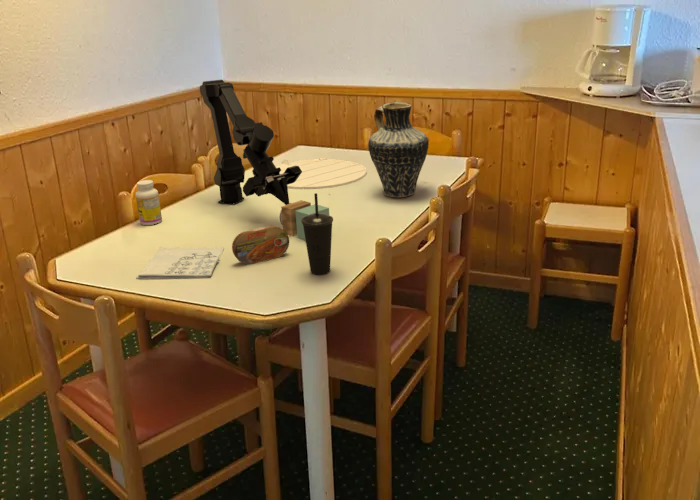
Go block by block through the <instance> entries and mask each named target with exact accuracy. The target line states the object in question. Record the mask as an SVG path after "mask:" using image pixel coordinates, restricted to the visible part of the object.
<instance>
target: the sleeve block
mask: <svg viewBox="0 0 700 500" xmlns="http://www.w3.org/2000/svg"><path fill="white" fill-rule="evenodd" d="M290 203H291V204H288V205H285V204H284V205H282V206H281V207H280V208H281V210H282V221H283V226H282V229H283V230H284V231H285V232H286V233H287V234H288V236H292V237H294V236H297V226H296V219H295V214H296V212H295V211H296V210H299V209H302V208H305V207H308V206H311V202H310V201H306V200H297V201H295V202H290Z"/></svg>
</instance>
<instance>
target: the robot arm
mask: <svg viewBox="0 0 700 500" xmlns="http://www.w3.org/2000/svg"><path fill="white" fill-rule="evenodd" d="M232 83H233V82H232ZM232 83H231V82H230V81H229V82H225V81H224V80H223V79H216V80H215V79H214V80H205V81H204V80H203V81H202V83H201V85H200V86H199V94H200V95H201V97H202V100H203V101H202V102H203V103H204V104H205V105H206V106H207V107H208V109H209V110H210V113H211V119H212V123H213V128H214V132H215V133H214V134H215V138H216V142H217V149H218V152H219V156H218V159H217V161H216V171H215V173H214V175H213V181H214V184H215V185H216V186H218V187H219V194H220V195H219V196H220V200H218V201H217V202H218V204H224V205H225V204H227V205H236V204H239V203H240V202H242V201H243V200H245V197H249V196H253V195H255V196H257V197H261V196H263V195H272V196H274V197H275V198H276V199H278V200H279V201H280V202H282V203H283V204H284V206H285V205H286V204H288V203H290V197H289V196H290V195H289V188H287V185H288V184H292V183H294V182H295V181H296V180H297V178H298V177H299V176H300V174H301V173H302V170H301V169H300V167H299V166H292V167H288V168H287V169H286V170H285V172H284V173H283V174H280V171H281V169H280V168H276V167H275V166H276V165H275V164H274V160H275V158H274V157H273V156H269V154H268V153H267V151H268V150H269V148H270V146H271V143H272V141H273V139H274V136H275V135H274V134H275V133H274V131H273V129H271V127H269V126H267V125H264V124H263V122H262V121H260V122H255V120H254V119H252V118H251V117H249V116H248V115H247V114H246V112H245V110H244V108H243V106H242V105H241V102H240V100H239V98H238V97H237V95H236V92H235V88H234V85H233V84H232ZM228 119H229V120H230V122H231V125H232V131H231V129H230V124H229V120H228ZM231 132H232V134H231ZM232 137H233V139H232ZM233 140H234V142H235V144H236V145H238V146H245V147H244V149H243V150H242V151H243V153H242V157H241V156H238V155H237V153H236V152H235V150H234V145H233ZM242 158H243V159H242ZM244 159H247V160H248V162H249V164H250V165H251V167H252V168H253V169H252V171H251V172H252V174H253V176H252V177H248V178H247V180H246V182H245V173H246V169H245V167H244V165H243V161H242V160H244ZM241 183H245V184H243V186H242V187H241ZM243 194H244V195H245V197H243Z"/></svg>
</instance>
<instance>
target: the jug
mask: <svg viewBox="0 0 700 500" xmlns="http://www.w3.org/2000/svg"><path fill="white" fill-rule="evenodd" d="M411 110H412V105H411V103H410V102H401V101H395V102H388V103H384V104H383V105H381V106H379V107H377V108H376V109H375V111H374V115H373V117H374V122H375V126H376V130H377V131H376V132H374V133H373V134H372V135H371V136H370V137H369V140H368V143H367V144H368V145H367V146H368V147H367V149H368V152H369V156H370V158H371V161H372V163H373V165H374V167H375V169H376V172H377V175H378V178H379V180H380V182H381V185H382V190H383V194H384V195H385V196H387V197H391V198H406V197H408V196H412V195H414V194H415V192H416V188H417V183H418V179H419V176H420V173H421V170H422V168H423V166H424V163H425V161H426V157H427V155H428V151H429V138H428V136H427V135H426V133H425V132H423V131H421V130H419V129H418V128H415V127H414V126H412V124H411V121H410V115H411ZM384 118H385V119H384ZM384 120H385V121H384Z"/></svg>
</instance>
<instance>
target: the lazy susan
mask: <svg viewBox="0 0 700 500" xmlns="http://www.w3.org/2000/svg"><path fill="white" fill-rule="evenodd" d="M292 166H299V167H300V169H301V170H302V173H301V174H300V176H299V177H298V178H297V180H296V181H295V182H294V183H292V184H288V185H287V188H288V189H293V190H322V189H331V188H337V187H342V186H347V185H350V184H354V183H356V182H359V181H360V180H362V179H364V178H365V177H366V176H367V168H366V167H365V166H364V165H362V164H361V163H357V162H354V161H350V160H343V159H332V158H328V157H325V156H324V157H321V158H318V159H314V158H313V159H302V160H301V159H300V160H295V161H294V160H293V161H292V160H291V159H290V158H289V159H288V158H287V159H283V160H282V161H281V162H280V164H277V165H275V167H276V168H280V169H281V171H280V174H283V173H284V172H285V170H286V169H287V168H288V167H292Z"/></svg>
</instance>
